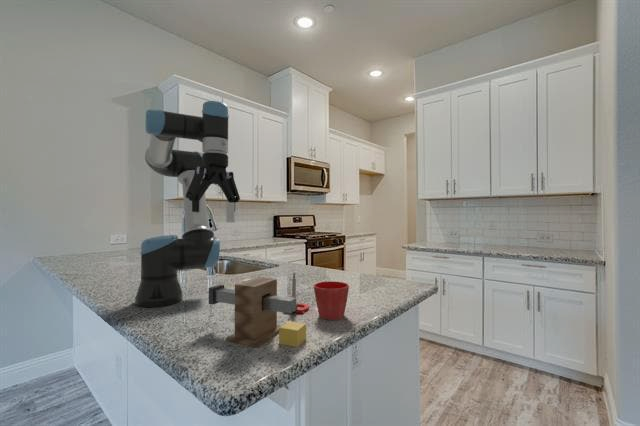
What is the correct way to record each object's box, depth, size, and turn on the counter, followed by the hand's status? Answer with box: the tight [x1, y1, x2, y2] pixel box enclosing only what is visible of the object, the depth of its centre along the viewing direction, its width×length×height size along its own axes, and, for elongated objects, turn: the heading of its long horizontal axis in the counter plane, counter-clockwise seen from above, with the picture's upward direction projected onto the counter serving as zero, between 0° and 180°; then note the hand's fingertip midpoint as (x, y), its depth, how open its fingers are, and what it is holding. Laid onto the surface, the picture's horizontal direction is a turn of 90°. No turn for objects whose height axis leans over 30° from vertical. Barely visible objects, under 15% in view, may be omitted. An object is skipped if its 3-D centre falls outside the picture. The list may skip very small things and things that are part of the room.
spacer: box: [278, 320, 307, 348], centre depth 77 cm, size 5×5×4 cm
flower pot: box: [313, 280, 350, 321], centre depth 95 cm, size 11×11×10 cm
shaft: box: [208, 284, 297, 314], centre depth 81 cm, size 26×4×4 cm, turn 65°
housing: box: [225, 276, 283, 348], centre depth 81 cm, size 9×13×14 cm
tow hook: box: [291, 272, 310, 315], centre depth 102 cm, size 8×13×9 cm
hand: (215, 223), depth 94 cm, fingers open, 13 cm apart
